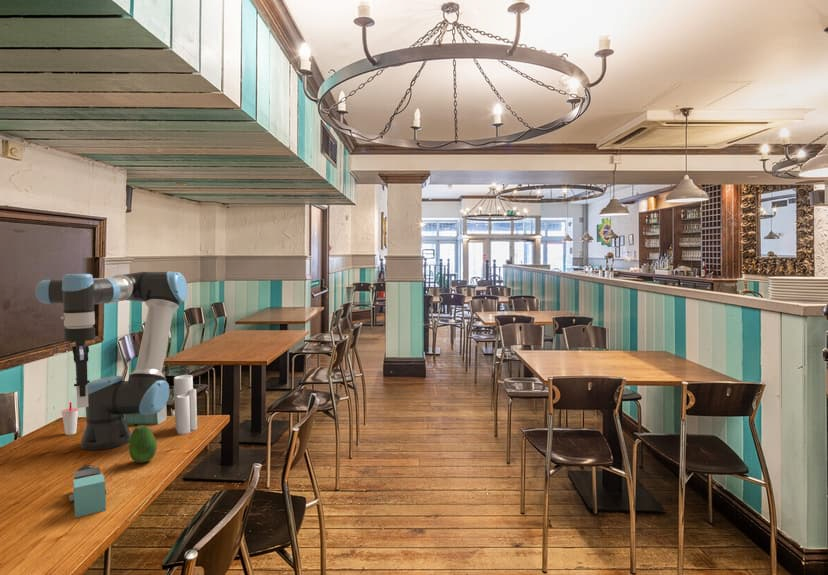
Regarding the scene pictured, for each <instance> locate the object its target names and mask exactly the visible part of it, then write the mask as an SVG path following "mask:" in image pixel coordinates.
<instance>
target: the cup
mask: <svg viewBox="0 0 828 575" xmlns="http://www.w3.org/2000/svg"><path fill="white" fill-rule="evenodd" d="M78 415H79V408H76V407H73V408H72V401H70V402H69V408H66V409H63V410H61V416H62V421H63V422H62V423H63V428H64V434H65V435H66V436H72V435H75V434H76V433H77V429H78V428H77V427H78V417H79V416H78Z"/></svg>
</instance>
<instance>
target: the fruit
mask: <svg viewBox="0 0 828 575" xmlns="http://www.w3.org/2000/svg"><path fill="white" fill-rule="evenodd" d="M157 448H158V443H157V440H156V437H155V435H154V434H153V432H152V430H151V429H150V427H148V426H147V425H145V424H143V425H137V426H135V428H134V429H133V430H132V432H131V439H130V441H129V445H128V453H129V457H130V458H131V459H132V460H133V461H134V462H135V463H139V464H140V463H146V462H149V461H150V460H152V459H153V458H154V456H156V453H157Z"/></svg>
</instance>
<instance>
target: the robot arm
mask: <svg viewBox="0 0 828 575" xmlns="http://www.w3.org/2000/svg"><path fill="white" fill-rule="evenodd" d="M188 290H189V289H188V284H187V280H186V278H185V276H184V275H183V274H182V273H181V272H178V271H170V270H169V271H139V272H137V271H136V272H130V273H126V274H125V273H124V274H117V275H116V274H115V275H114V276H112V277H97V278H96V277H95V278H93V274H90V273H67V274H66V273H65V274H64V275H63V276H62V278H61V279H43V280H41V281H39V282H38V283H37V284H36V287H35V296H36V299H37V300H38V302H40V303H41V304H46V305H57V304H58V305H61V304H62V305H63V310H62V311H63V315H62V316H61V317H60V320H63V326H64V327H65V328H64V330H63V332H64V334H63V335H64V336H63V337H64V341H65V342H71V343H73V342H74V346H72V348H71V350H72V351H71V352H72V354H73V362H74V363H75V383H74V384H73V386H74V387H76V406H77V409H80V408H85V418H86V424H85V427H84V431H83V433H82V437H81V440H80V447H81V449H83V450H86V451H101V450H108V449H112V448H113V449H114V448H116V447H119V446H123V445H125V444H128V442H129V443H130V439H131V435H132V432H131V430H130V429H129V427H128V426H129V425H128V424H127V423H126V421H125V414H142V415H147V414H156V413H158V412H160V411H161V410H162V409H163V408H164V406H165V405H166V406H167V403H168V401H169V396H170V385H169V383H168V381H166V376H165V375H164V374H163V373H162V372H163V368H164V363H165V357H166V352H167V346H168V340H169V336H170V331H171V327H172V326H171V325H172V322H173V321H172V320H173V315H174V312H175V311H176V310H179V307H180V303H183V302H185V301H186V300H187V299H188V295H189V294H188V292H189V291H188ZM114 301H131V302H142V303H143V302H144V303H145V305H146V307H147V308H148V309H147V314H146V318H145V323H144V328H143V332H142V337H141V341H140V347H139V353H138V356H137V362H136V366H135V370H134V371H132V372H131V373H129V375H128V378H127V379H128V380H125V378H124V377H123V375H115V376H106V377H103V378H99V379H98V378H97V379H94V380H92V381H90V380H89V379H88V361H89V353H90V346H89V345H86V342H88V341H92V340H95V339H96V327H95V324H96V319H95V318H96V317H95V316H96V314H95V305H100V304H109V303H112V302H114Z"/></svg>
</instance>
